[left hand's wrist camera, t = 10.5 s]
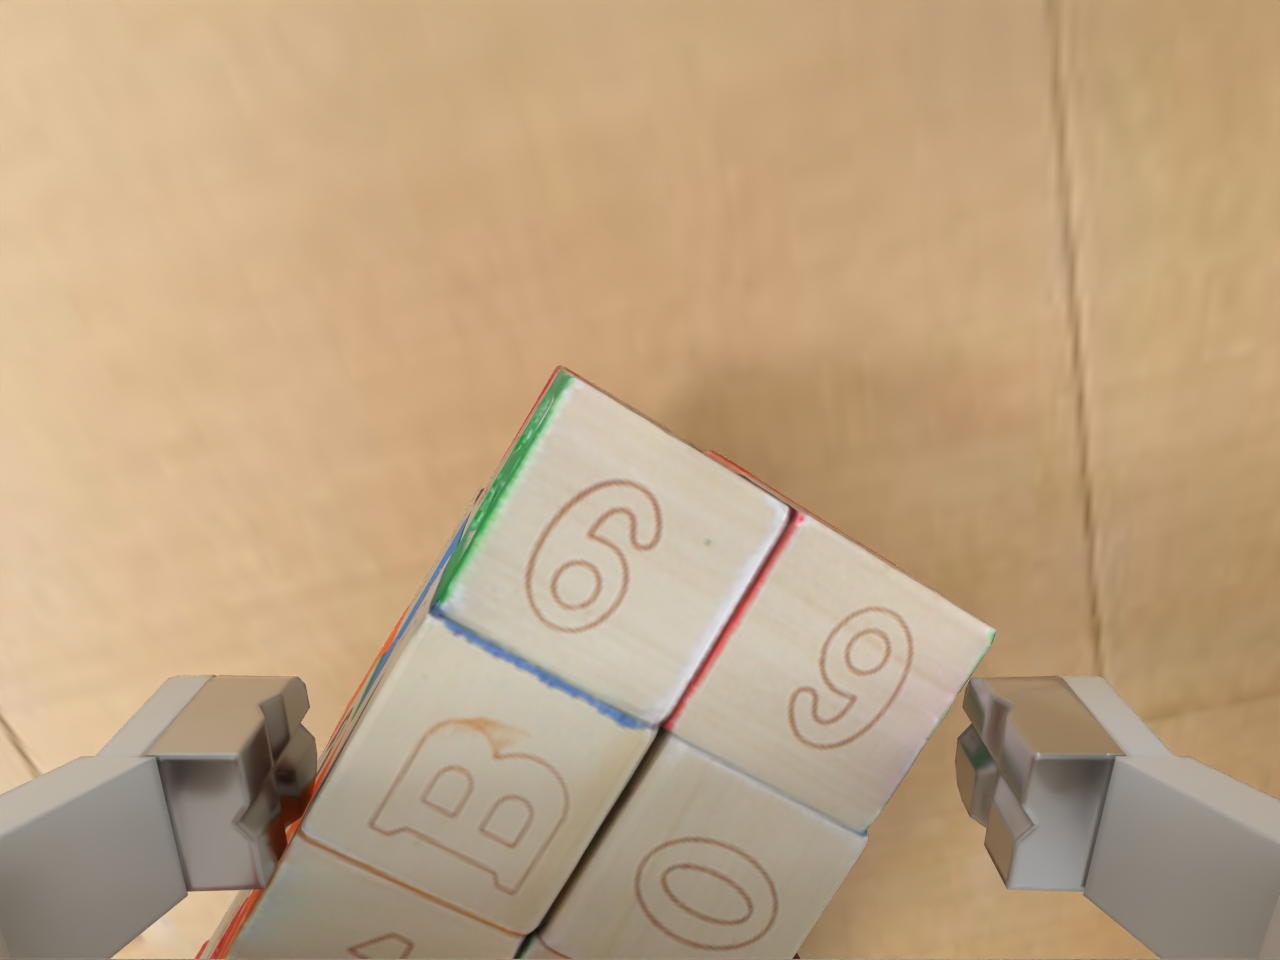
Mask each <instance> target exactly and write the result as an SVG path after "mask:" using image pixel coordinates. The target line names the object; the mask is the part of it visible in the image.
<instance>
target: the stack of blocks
mask: <svg viewBox="0 0 1280 960" xmlns="http://www.w3.org/2000/svg"><path fill="white" fill-rule="evenodd" d="M995 633H996V630H995V629H994V628H993V627H991V626H990V625H988V624H987V623H986V622H984V621H982V620H981V619H979V618H978V617H976V616H974V615H973V614H971V613H970V612H968V611H966V610H965V609H963V608H962V607H960V606H959V605H957V604H955V603H954V602H952V601H951V600H949V599H947V598H946V597H944V596H943V595H941V594H939V593H938V592H936V591H935V590H933V589H931V588H930V587H928V586H927V585H925V584H924V583H922V582H921V581H919V580H918V579H916V578H914V577H913V576H911V575H910V574H908V573H907V572H905V571H903V570H902V569H900V568H898V567H897V566H896V565H895V564H893V563H892V562H890V561H888V560H887V559H885V558H883V557H882V556H880V555H879V554H877V553H875V552H874V551H872V550H870V549H869V548H867V547H865V546H864V545H862V544H860V543H859V542H857V541H855V540H854V539H852V538H851V537H849V536H847V535H846V534H844V533H843V532H841V531H840V530H838V529H836V528H835V527H834V526H832V525H830V524H829V523H827V522H825V521H824V520H822V519H821V518H819V517H818V516H816V515H814V514H813V513H811V512H810V511H808V510H806V509H805V508H803V507H801V506H800V505H798V504H797V503H795V502H793V501H792V500H790V499H788V498H787V497H785V496H784V495H782V494H781V493H779V492H778V491H776V490H775V489H773V488H771V487H770V486H768V485H766V484H765V483H763V482H762V481H761V480H759V479H758V478H756V477H755V476H754V475H752V474H751V473H749V472H747V471H746V470H744V469H743V468H741V467H740V466H738V465H736V464H735V463H733V462H731V461H730V460H728V459H726V458H725V457H723V456H721V455H719V454H718V453H716V452H714V451H710V450H708V451H707V452H706V451H704V450H702V449H700V448H698V447H697V446H695V445H693V444H691V443H689V442H687V441H685V440H684V439H682V438H681V437H679V436H678V435H676V434H675V433H673V432H672V431H670V430H669V429H667V428H666V427H664V426H663V425H661V424H659V423H658V422H656V421H655V420H653V419H651V418H650V417H648V416H646V415H645V414H643V413H641V412H640V411H638V410H636V409H635V408H633V407H632V406H630V405H628V404H627V403H625V402H623V401H622V400H620V399H618V398H617V397H615V396H613V395H612V394H610V393H608V392H607V391H605V390H603V389H602V388H600V387H598V386H596V385H595V384H593V383H591V382H590V381H588V380H586V379H584V378H583V377H581V376H579V375H578V374H576V373H574V372H572V371H571V370H569V369H567V368H566V367H563V366H557V367H556V369H555V371H554V372H553V374H552V375H551V377H550V379H549V380H548V382H547V384H546V386H545V387H544V389H543V391H542V393H541V394H540V396H539V398H538V400H537V401H536V403H535V405H534V406H533V408H532V410H531V412H530V413H529V415H528V417H527V418H526V420H525V422H524V423H523V425H522V427H521V428H520V430H519V432H518V433H517V435H516V437H515V439H514V440H513V442H512V444H511V445H510V447H509V449H508V450H507V452H506V453H505V455H504V457H503V459H502V460H501V462H500V464H499V466H498V467H497V469H496V470H495V472H494V474H493V475H492V477H491V479H490V481H489V482H488V484H487V485H486V487H485V488H484V489H480V490H478V492H477V494H476V495H475V497H474V499H473V500H472V502H471V504H470V505H469V507H468V509H467V510H466V512H465V514H464V515H463V517H462V519H461V520H460V522H459V524H458V525H457V527H456V528H455V530H454V532H453V533H452V535H451V537H450V538H449V540H448V542H447V543H446V545H445V547H444V548H443V550H442V552H441V553H440V555H439V557H438V558H437V560H436V562H435V563H434V565H433V567H432V568H431V570H430V572H429V573H428V575H427V577H426V578H425V580H424V582H423V583H422V585H421V587H420V588H419V590H418V592H417V593H416V595H415V597H414V599H413V601H412V603H411V604H410V605H409V607H408V608H407V609H406V611H405V612H404V614H403V616H402V617H401V619H400V620H399V622H398V623H397V625H396V627H395V628H394V630H393V632H392V633H391V635H390V637H389V638H388V640H387V642H386V643H385V645H384V647H383V648H382V650H381V652H380V653H379V655H378V657H377V658H376V660H375V662H374V663H373V665H372V666H371V668H370V670H369V671H368V673H367V675H366V676H365V678H364V680H363V681H362V683H361V685H360V686H359V688H358V690H357V691H356V693H355V695H354V696H353V698H352V699H351V701H350V702H349V704H348V706H347V707H346V709H345V711H344V713H343V715H342V717H341V719H340V721H339V723H338V725H337V727H336V729H335V731H334V732H333V734H332V736H331V738H330V740H329V742H328V744H327V746H326V748H325V750H324V752H323V753H322V755H321V757H320V758H319V760H318V762H317V776H316V780H315V785H314V789H313V793H312V798H311V800H310V802H309V804H308V806H307V808H306V810H305V812H304V814H303V816H302V817H301V818H300V819H298V820H297V821H295V822H294V823H292V824H291V825H289V826H288V827H286V828H285V832H286V837H287V843H288V845H287V847H286V849H285V851H284V853H283V854H282V856H281V858H280V860H279V861H278V864H277V866H276V868H275V870H274V871H273V873H272V875H271V877H270V879H269V881H268V883H267V885H266V887H265V888H264V889H254V890H240V891H239V893H238V894H237V896H236V897H235V899H234V901H233V902H232V904H231V906H230V907H229V909H228V911H227V912H226V914H225V916H224V917H223V919H222V921H221V922H220V924H219V926H218V927H217V929H216V930H215V932H214V934H213V936H212V937H211V939H210V940H208V941H207V942H206V943H205V944H204V945H203V946H202V948H201V950H200V951H199V953H198V954H197V956H196V957H195V959H793V957H794V956H795V954H796V952H797V951H798V949H799V948H800V946H801V945H802V943H803V942H804V940H805V939H806V937H807V936H808V934H809V933H810V931H811V930H812V928H813V927H814V925H815V924H816V922H817V920H818V919H819V917H820V916H821V914H822V913H823V911H824V910H825V908H826V907H827V905H828V904H829V902H830V901H831V899H832V898H833V896H834V894H835V893H836V891H837V890H838V888H839V887H840V885H841V884H842V882H843V881H844V879H845V878H846V876H847V875H848V873H849V871H850V870H851V868H852V867H853V865H854V864H855V862H856V861H857V859H858V858H859V856H860V855H861V853H862V851H863V850H864V848H865V846H866V844H867V841H868V834H867V828H868V827H869V826H870V825H871V824H872V823H873V822H874V821H875V819H876V818H877V817H878V816H879V814H880V813H881V811H882V810H883V808H884V807H885V805H886V804H887V803H888V801H889V800H890V798H891V797H892V795H893V794H894V792H895V791H896V789H897V788H898V786H899V785H900V783H901V782H902V780H903V779H904V777H905V776H906V774H907V773H908V771H909V770H910V768H911V766H912V765H913V763H914V761H915V760H916V758H917V756H918V755H919V753H920V751H921V750H922V748H923V747H924V745H925V744H926V743H927V741H928V740H929V738H930V737H931V735H932V734H933V732H934V731H935V730H936V728H937V727H938V726H939V724H940V723H941V722H942V720H943V719H944V718H945V716H946V715H947V713H948V711H949V709H950V707H951V705H952V703H953V702H954V700H955V698H956V696H957V694H958V693H959V692H960V691H961V689H962V688H963V687H964V685H965V684H966V682H967V681H968V679H969V678H970V676H971V675H972V673H973V672H974V670H975V669H976V667H977V666H978V664H979V663H980V661H981V660H982V658H983V657H984V655H985V654H986V652H987V651H988V650H989V648H990V646H991V644H992V642H993V640H994V636H995Z"/></svg>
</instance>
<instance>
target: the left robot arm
mask: <svg viewBox="0 0 1280 960" xmlns="http://www.w3.org/2000/svg"><path fill="white" fill-rule="evenodd" d="M309 708H310V705H309V700H308V695H307V690H306V685H305V683H304V682H303V681H302V680H301V679H300V678H299V677H283V676H234V675H219V676H216V675H179V676H175V677H171V678H168V679H167V680H166V681H165V682H164V684H163V685H162V686H161V687H160V688H159V689H158V690H157V691H156V692H155V693H154V694H153V695H152V696H151V697H150V698H149V699H148V701H147V702H146V703H145V704H144V705H143V706H142V707H141V708H140V709H139V710H138V711H137V712H136V713H135V714H134V715H133V717H132V718H131V719H130V720H129V721H128V722H127V723H126V724H125V725H124V726H123V727H122V728H121V729H120V730H119V731H118V732H117V734H116V735H115V736H114V737H113V738H112V739H111V740H110V741H109V742H108V743H107V744H106V745H105V746H104V747H103V748H102V749H101V751H100V752H99V753H98V754H97V755H96V756H95V757H79V758H77V759H75V760H73V761H71V762H69V763H67V764H65V765H63V766H61V767H58V768H56V769H54V770H52V771H50V772H48V773H46V774H44V775H42V776H39V777H37V778H35V779H33V780H31V781H29V782H27V783H25V784H23V785H21V786H18V787H16V788H14V789H12V790H10V791H8V792H6V793H4V794H2V795H0V960H1280V800H1279V799H1277V798H1274V797H1272V796H1270V795H1268V794H1266V793H1264V792H1262V791H1260V790H1258V789H1256V788H1254V787H1252V786H1250V785H1247V784H1245V783H1243V782H1241V781H1239V780H1237V779H1235V778H1233V777H1231V776H1229V775H1227V774H1225V773H1222V772H1220V771H1218V770H1216V769H1214V768H1212V767H1210V766H1208V765H1206V764H1204V763H1202V762H1200V761H1197V760H1195V759H1193V758H1191V757H1176V756H1175V755H1174V754H1173V753H1172V752H1171V751H1170V750H1169V749H1168V748H1167V746H1166V745H1165V744H1164V743H1163V742H1162V741H1161V740H1160V739H1159V738H1158V737H1157V736H1156V734H1155V733H1154V732H1153V731H1152V730H1151V729H1150V728H1149V727H1148V726H1147V725H1146V724H1145V723H1144V721H1143V720H1142V719H1141V718H1140V717H1139V716H1138V715H1137V714H1136V713H1135V712H1134V711H1133V710H1132V708H1131V707H1130V706H1129V705H1128V704H1127V703H1126V702H1125V701H1124V700H1123V699H1122V698H1121V697H1120V695H1119V694H1118V693H1117V692H1116V691H1115V690H1114V689H1113V688H1112V687H1111V686H1110V685H1109V684H1108V682H1107V681H1106V680H1105V679H1103V678H1101V677H1099V676H1096V675H1094V674H1091V675H1063V676H1045V677H1000V678H971V679H970V681H969V683H968V685H967V687H966V690H965V696H964V701H963V709H964V711H965V712H966V714H967V716H968V717H969V719H970V721H971V722H972V724H971V725H970V726H969V727H968V728H967V729H966V730H965V731H964V732H963V733H962V734H961V735H960V736H959V737H958V740H957V749H956V758H955V766H956V776H957V785H958V788H959V792H960V795H961V799H962V801H963V804H964V806H965V808H966V810H967V812H968V814H969V816H970V817H971V818H973V819H974V820H976V821H977V822H978V823H980V824H981V825H983V826H984V827H986V828H987V831H986V837H985V843H984V845H985V847H986V849H987V851H988V853H989V855H990V857H991V859H992V861H993V863H994V864H995V866H996V868H997V870H998V872H999V874H1000V876H1001V878H1002V880H1003V882H1004V884H1005V886H1006V888H1007V889H1015V890H1051V891H1084V894H1083V895H1084V896H1085V897H1086V898H1088V899H1089V900H1090V901H1091V902H1093V903H1094V904H1095V905H1096V906H1097V907H1099V908H1100V909H1101V910H1102V911H1104V912H1105V913H1106V914H1107V915H1108V916H1110V917H1111V918H1112V919H1113V920H1114V921H1116V922H1117V923H1118V924H1119V925H1121V926H1122V927H1123V928H1124V929H1125V930H1127V931H1128V932H1129V933H1130V934H1132V935H1133V936H1134V937H1135V938H1136V939H1138V940H1139V941H1140V942H1141V943H1143V944H1144V945H1145V946H1146V947H1147V948H1149V949H1150V950H1151V951H1152V952H1153V953H1155V954H1156V955H1157V956H1158V957H1160V958H1161V959H110V958H111V957H113V956H114V955H115V954H116V953H117V952H119V951H120V950H121V949H122V948H124V947H125V946H126V945H127V944H129V943H130V942H131V941H132V940H133V939H135V938H136V937H137V936H138V935H140V934H141V933H142V932H143V931H145V930H146V929H147V928H148V927H150V926H151V925H152V924H153V923H154V922H156V921H157V920H158V919H159V918H161V917H162V916H163V915H164V914H166V913H167V912H168V911H169V910H170V909H172V908H173V907H174V906H175V905H177V904H178V903H179V902H180V901H182V900H183V899H184V898H185V897H186V896H187V895H188V893H187V891H219V890H254V889H264V888H265V887H266V885H267V883H268V881H269V879H270V877H271V875H272V873H273V871H274V870H275V868H276V866H277V864H278V861H279V860H280V858H281V856H282V854H283V853H284V851H285V849H286V847H287V845H288V843H287V837H286V832H285V828H286V827H288V826H289V825H291V824H292V823H294V822H295V821H297V820H298V819H300V818H301V817H302V816H303V814H304V812H305V810H306V808H307V806H308V804H309V802H310V800H311V798H312V793H313V789H314V785H315V780H316V776H317V750H316V743H315V738H314V737H313V736H312V735H311V734H310V733H309V731H308V730H307V729H306V728H305V727H304V726H303V725H302V724H301V721H302V719H303V718H304V716H305V714H306V713H307V711H308V709H309Z"/></svg>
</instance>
